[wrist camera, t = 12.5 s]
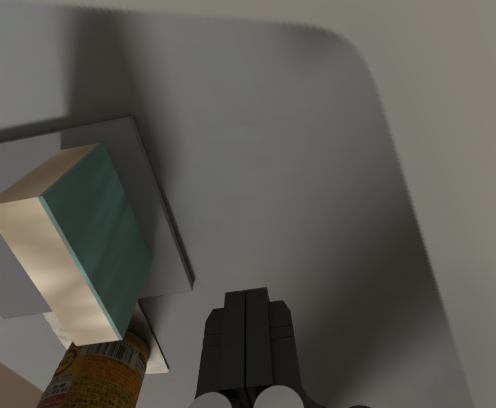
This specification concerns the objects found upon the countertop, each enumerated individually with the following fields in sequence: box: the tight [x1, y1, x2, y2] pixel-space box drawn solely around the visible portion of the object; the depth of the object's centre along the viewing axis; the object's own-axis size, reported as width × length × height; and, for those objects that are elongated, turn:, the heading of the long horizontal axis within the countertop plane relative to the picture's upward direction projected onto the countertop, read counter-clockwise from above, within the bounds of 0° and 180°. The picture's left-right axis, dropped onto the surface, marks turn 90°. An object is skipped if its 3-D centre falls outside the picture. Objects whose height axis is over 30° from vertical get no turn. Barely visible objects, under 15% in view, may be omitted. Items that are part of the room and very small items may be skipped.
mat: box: [0, 115, 193, 319], centre depth 20 cm, size 12×14×1 cm
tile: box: [0, 142, 153, 346], centre depth 17 cm, size 2×6×8 cm
